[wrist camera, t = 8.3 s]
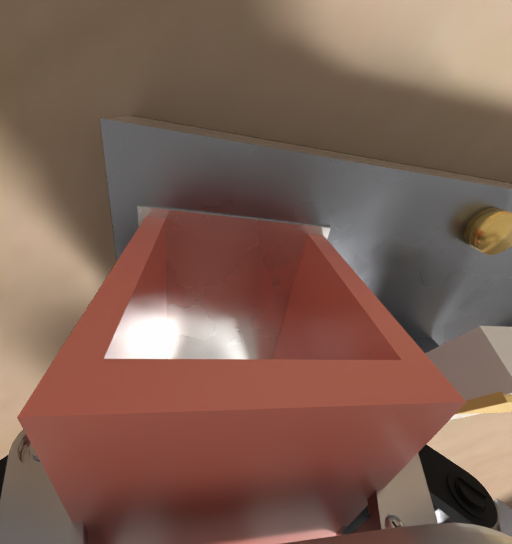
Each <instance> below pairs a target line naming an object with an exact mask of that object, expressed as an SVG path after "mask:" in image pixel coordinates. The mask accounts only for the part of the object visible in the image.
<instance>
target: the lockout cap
mask: <svg viewBox="0 0 512 544" xmlns="http://www.w3.org/2000/svg"><path fill="white" fill-rule="evenodd" d="M465 403H466V401H465V400H464V398H463V397H462V396H461V395H460V394H459V393H458V391H457V390H456V389H455V388H454V387H453V386H452V384H451V383H450V382H449V381H448V380H447V379H446V377H445V376H444V375H443V374H442V373H441V372H440V371H439V369H438V368H437V367H436V366H435V365H434V364H433V362H432V361H431V360H430V359H429V358H428V357H427V355H426V354H425V353H424V352H423V351H422V350H421V348H420V347H419V346H418V345H417V344H416V343H415V341H414V340H413V339H412V338H411V337H410V336H409V334H408V333H407V332H406V331H405V330H404V329H403V327H402V326H401V325H400V324H399V323H398V322H397V320H396V319H395V318H394V317H393V316H392V315H391V313H390V312H389V311H388V310H387V309H386V308H385V306H384V305H383V304H382V303H381V302H380V301H379V299H378V298H377V297H376V296H375V295H374V294H373V292H372V291H371V290H370V289H369V288H368V287H367V285H366V284H365V283H364V282H363V281H362V280H361V278H360V277H359V276H358V275H357V274H356V273H355V271H354V270H353V269H352V268H351V267H350V266H349V264H348V263H347V262H346V261H345V260H344V259H343V257H342V256H341V255H340V254H339V253H338V252H337V251H336V249H335V248H334V247H333V246H332V245H331V244H330V242H329V241H328V240H327V239H326V238H325V237H324V236H322V235H313V234H308V236H307V239H306V243H305V246H304V250H303V253H302V257H301V260H300V264H299V267H298V270H297V274H296V277H295V281H294V284H293V288H292V291H291V295H290V298H289V302H288V305H287V309H286V312H285V316H284V319H283V323H282V326H281V330H280V333H279V336H278V340H277V343H276V347H275V350H274V354H273V357H272V359H167V300H166V219H164V218H154V217H145V218H144V220H143V221H142V223H141V224H140V226H139V228H138V229H137V231H136V232H135V234H134V235H133V237H132V239H131V240H130V242H129V243H128V245H127V246H126V248H125V250H124V251H123V253H122V254H121V256H120V257H119V259H118V260H117V262H116V264H115V265H114V267H113V268H112V270H111V271H110V273H109V275H108V276H107V278H106V279H105V281H104V282H103V284H102V286H101V287H100V289H99V290H98V292H97V293H96V295H95V296H94V298H93V300H92V301H91V303H90V304H89V306H88V307H87V309H86V311H85V312H84V314H83V315H82V317H81V318H80V320H79V322H78V323H77V325H76V326H75V328H74V329H73V331H72V332H71V334H70V336H69V337H68V339H67V340H66V342H65V343H64V345H63V347H62V348H61V350H60V351H59V353H58V354H57V356H56V358H55V359H54V361H53V362H52V364H51V365H50V367H49V368H48V370H47V372H46V373H45V375H44V376H43V378H42V379H41V381H40V383H39V384H38V386H37V387H36V389H35V390H34V392H33V394H32V395H31V397H30V398H29V400H28V401H27V403H26V404H25V406H24V408H23V409H22V411H21V412H20V414H19V415H18V417H17V418H18V420H19V422H20V423H21V425H22V427H23V429H24V431H25V433H26V435H27V437H28V439H29V441H30V443H31V445H32V446H33V448H34V450H35V452H36V454H37V456H38V458H39V460H40V462H41V464H42V466H43V468H44V469H45V471H46V473H47V475H48V477H49V479H50V481H51V483H52V485H53V487H54V489H55V491H56V492H57V494H58V496H59V498H60V500H61V502H62V504H63V506H64V508H65V510H66V512H67V514H68V515H69V517H70V519H71V521H72V522H82V521H83V522H84V524H85V526H86V528H87V530H88V544H282V543H289V542H296V541H303V540H310V539H317V538H324V537H331V536H336V533H337V531H338V530H339V529H340V528H341V527H342V526H348V525H349V524H350V523H351V522H352V521H353V520H354V519H355V518H356V517H357V516H358V515H359V514H360V513H361V512H362V511H363V510H364V509H365V508H366V506H367V505H368V502H367V499H368V498H369V497H370V496H371V495H372V494H373V493H374V492H375V491H376V490H380V489H384V488H385V487H386V486H387V485H388V484H389V482H390V481H391V480H392V479H393V478H394V477H395V476H396V475H397V474H398V473H399V472H400V471H401V470H402V469H403V468H404V467H405V466H406V465H407V464H408V463H409V462H410V461H411V459H412V458H413V457H414V456H415V455H416V454H417V453H418V452H419V451H420V450H421V449H422V448H423V447H424V446H425V445H426V444H427V443H428V442H429V441H430V440H431V439H432V438H433V436H434V435H435V434H436V433H437V432H438V431H439V430H440V429H441V428H442V427H443V426H444V425H445V424H446V423H447V422H448V421H449V420H450V419H451V418H452V417H453V416H454V415H455V414H456V412H457V411H458V410H459V409H460V408H461V407H462V406H463V405H464V404H465Z"/></svg>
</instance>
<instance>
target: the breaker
mask: <svg viewBox="0 0 512 544" xmlns="http://www.w3.org/2000/svg"><path fill="white" fill-rule="evenodd" d="M425 354H426V355H427V357H428V358H429V359H430V360H431V361H432V362H433V364H434V365H435V366H436V367H437V368H438V369H439V371H440V372H441V373H442V374H443V375H444V376H445V377H446V379H447V380H448V381H449V382H450V383H451V384H452V386H453V387H454V388H455V389H456V390H457V391H458V393H459V394H460V395H461V396H462V397H463V398H464V400H465V401H466V403H465V404H464V405H463V406H462V407H461V408H460V409H459V410H458V411H457V412H456V414H455V415H454V416H453V417H452V418H451V419H450V420H452V419H457V418H462V417H467V416H472V415H476V414H481V413H495V412H512V327H503V326H478V327H476V328H474V329H472V330H470V331H468V332H466V333H464V334H462V335H460V336H458V337H456V338H454V339H452V340H450V341H448V342H446V343H445V344H443V345H441V346H439V347H437V348H435V349H433V350H431V351H429V352H427V353H425Z"/></svg>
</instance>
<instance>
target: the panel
mask: <svg viewBox="0 0 512 544" xmlns="http://www.w3.org/2000/svg"><path fill="white" fill-rule="evenodd" d="M100 125H101V133H102V141H103V150H104V158H105V167H106V175H107V183H108V192H109V200H110V208H111V217H112V225H113V234H114V242H115V250H116V259H117V260H118V259H119V257H120V256H121V254H122V253H123V251H124V250H125V248H126V246H127V245H128V243H129V242H130V240H131V239H132V237H133V235H134V234H135V232H136V231H137V229H138V228H139V226H140V224H141V223H142V221H143V220H144V218H145V217H154V218H164V219H166V300H167V359H272V357H273V354H274V350H275V347H276V343H277V340H278V336H279V333H280V330H281V326H282V323H283V319H284V316H285V312H286V309H287V305H288V302H289V298H290V295H291V291H292V288H293V284H294V281H295V277H296V274H297V270H298V267H299V264H300V260H301V257H302V253H303V250H304V246H305V243H306V239H307V236H308V234H313V235H322V236H324V237H325V238H326V239H327V240H328V241H329V242H330V244H331V245H332V246H333V247H334V248H335V249H336V251H337V252H338V253H339V254H340V255H341V256H342V257H343V259H344V260H345V261H346V262H347V263H348V264H349V266H350V267H351V268H352V269H353V270H354V271H355V273H356V274H357V275H358V276H359V277H360V278H361V280H362V281H363V282H364V283H365V284H366V285H367V287H368V288H369V289H370V290H371V291H372V292H373V294H374V295H375V296H376V297H377V298H378V299H379V301H380V302H381V303H382V304H383V305H384V306H385V308H386V309H387V310H388V311H389V312H390V313H391V315H392V316H393V317H394V318H395V319H396V320H397V322H398V323H399V324H400V325H401V326H402V327H403V329H404V330H405V331H406V332H407V333H408V334H409V336H410V337H411V338H412V339H413V340H414V341H415V343H416V344H417V345H418V346H419V347H420V348H421V350H422V351H423V352H424V353H427V352H429V351H431V350H433V349H435V348H437V347H439V346H441V345H443V344H445V343H446V342H448V341H450V340H452V339H454V338H456V337H458V336H460V335H462V334H464V333H466V332H468V331H470V330H472V329H474V328H476V327H478V326H503V327H512V183H507V182H502V181H496V180H491V179H485V178H479V177H474V176H468V175H462V174H457V173H451V172H446V171H440V170H434V169H429V168H423V167H417V166H412V165H406V164H401V163H395V162H389V161H384V160H378V159H372V158H367V157H361V156H356V155H350V154H344V153H339V152H333V151H327V150H322V149H316V148H311V147H305V146H299V145H294V144H288V143H283V142H277V141H271V140H266V139H260V138H254V137H249V136H243V135H238V134H232V133H226V132H221V131H215V130H209V129H204V128H198V127H193V126H187V125H181V124H176V123H170V122H164V121H159V120H153V119H148V118H142V117H136V116H119V117H108V118H100Z"/></svg>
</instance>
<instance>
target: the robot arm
mask: <svg viewBox="0 0 512 544" xmlns="http://www.w3.org/2000/svg"><path fill="white" fill-rule="evenodd" d="M367 502H368V505H367V506H366V508H365V509H364V510H363V511H362V512H361V513H360V514H359V515H358V516H357V517H356V518H355V519H354V520H353V521H352V522H351V523H350V524H349V525H348V526H342V527H341V528H340V529H339V530H338V531H337V533H336V536H331V537H324V538H317V539H310V540H303V541H296V542H289V543H282V544H512V508H510V507H509V506H507V505H506V504H504V503H503V502H501V501H500V500H498V499H496V500H495V501H493V500H492V498H491V496H490V495H489V493H488V492H487V490H486V489H485V488H484V487H483V486H482V484H481V483H480V482H479V481H478V480H477V479H476V478H474V477H473V476H472V475H471V474H469V473H468V472H467V471H465V470H464V469H462V468H461V467H459V466H458V465H456V464H455V463H453V462H452V461H450V460H449V459H447V458H446V457H444V456H443V455H441V454H440V453H438V452H437V451H435V450H434V449H432V448H431V447H429V446H428V445H425V446H424V447H423V448H422V449H421V450H420V451H419V452H418V453H417V454H416V455H415V456H414V457H413V458H412V459H411V461H410V462H409V463H408V464H407V465H406V466H405V467H404V468H403V469H402V470H401V471H400V472H399V473H398V474H397V475H396V476H395V477H394V478H393V479H392V480H391V481H390V482H389V484H388V485H387V486H386V487H385V488H384V489H380V490H376V491H375V492H374V493H373V494H372V495H371V496H370V497H369V498H368V499H367ZM0 544H88V530H87V528H86V526H85V524H84V522H83V521H82V522H72V521H71V519H70V517H69V515H68V514H67V512H66V510H65V508H64V506H63V504H62V502H61V500H60V498H59V496H58V494H57V492H56V491H55V489H54V487H53V485H52V483H51V481H50V479H49V477H48V475H47V473H46V471H45V469H44V468H43V466H42V464H41V462H40V460H39V458H38V456H37V454H36V452H35V450H34V448H33V446H32V445H31V443H30V441H29V439H28V437H27V435H26V433H25V431H24V429H23V430H22V431H21V432H20V433H19V434H18V436H17V437H16V439H15V440H14V441H13V443H12V446H11V448H10V451H9V455H7V456H6V457H4V458H3V459H1V460H0Z"/></svg>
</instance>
